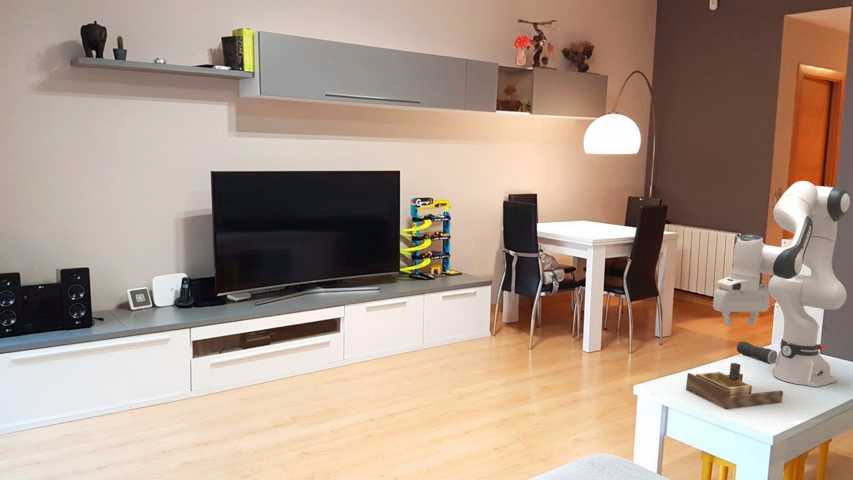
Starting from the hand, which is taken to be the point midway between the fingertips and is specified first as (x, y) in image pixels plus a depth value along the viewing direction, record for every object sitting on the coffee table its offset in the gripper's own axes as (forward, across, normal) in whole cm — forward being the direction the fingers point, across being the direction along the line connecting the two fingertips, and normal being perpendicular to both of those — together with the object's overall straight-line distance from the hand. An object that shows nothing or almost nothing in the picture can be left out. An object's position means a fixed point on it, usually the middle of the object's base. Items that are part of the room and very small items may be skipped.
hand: (738, 324), depth 234 cm
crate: (+25, +4, +1) cm, 25 cm away
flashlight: (+25, -46, -37) cm, 64 cm away
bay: (+26, -1, +1) cm, 26 cm away
